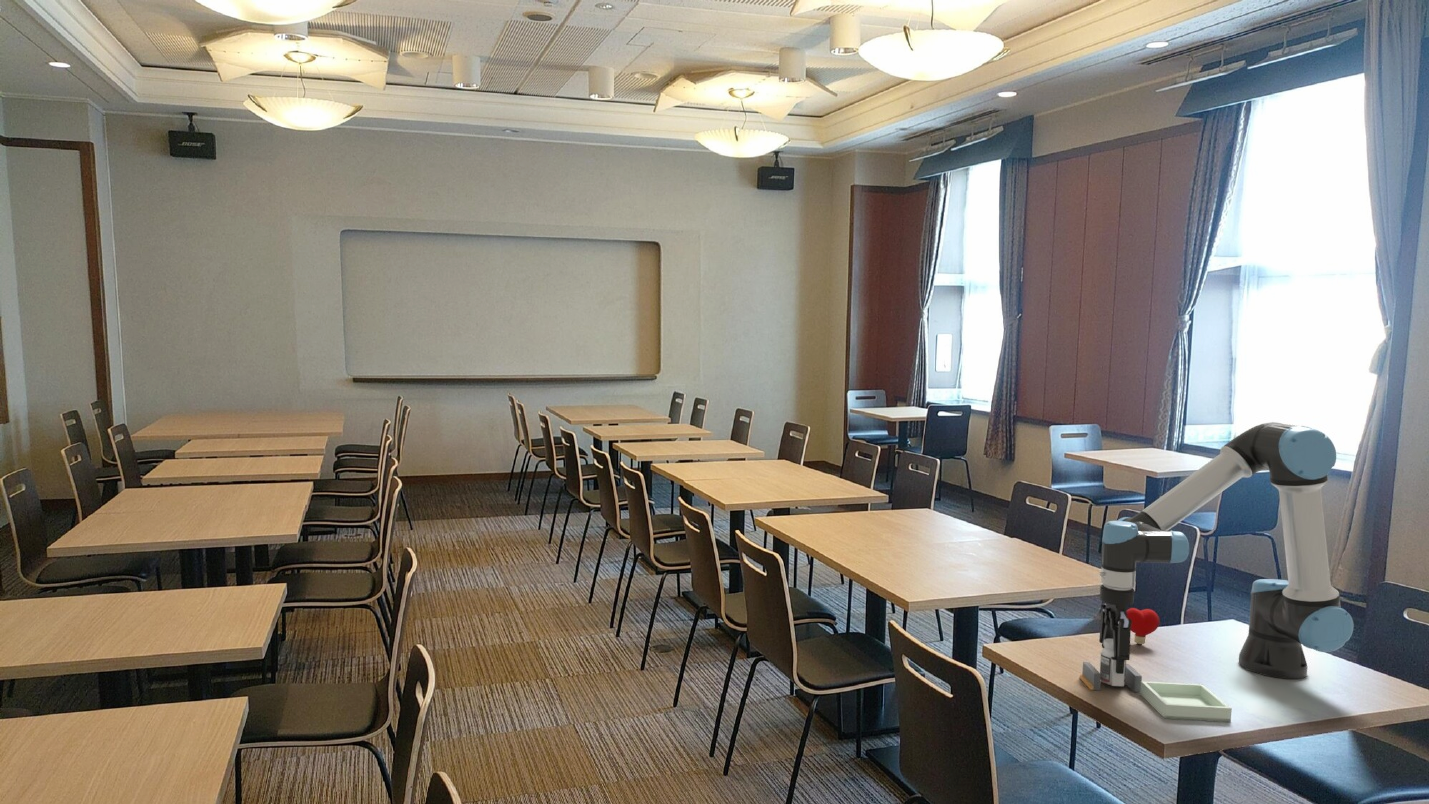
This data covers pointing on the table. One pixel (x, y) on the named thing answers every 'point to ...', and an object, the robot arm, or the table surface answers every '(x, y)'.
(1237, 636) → the table surface
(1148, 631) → the red heart bulb
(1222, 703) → the tray
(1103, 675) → the pill bottle
